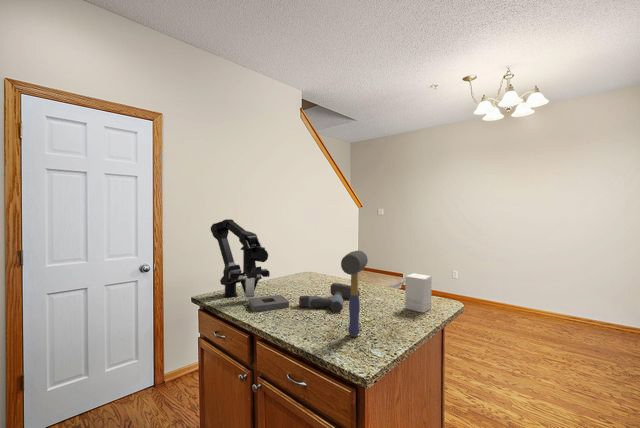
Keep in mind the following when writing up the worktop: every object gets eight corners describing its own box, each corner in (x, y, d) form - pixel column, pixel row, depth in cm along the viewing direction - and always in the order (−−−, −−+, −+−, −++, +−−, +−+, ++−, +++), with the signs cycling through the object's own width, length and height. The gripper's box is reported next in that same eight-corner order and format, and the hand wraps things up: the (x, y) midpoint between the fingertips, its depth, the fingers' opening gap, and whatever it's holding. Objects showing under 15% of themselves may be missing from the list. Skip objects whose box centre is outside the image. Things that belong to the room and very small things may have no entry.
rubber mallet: (348, 327, 111) (349, 248, 110) (368, 330, 108) (369, 250, 107) (338, 340, 99) (339, 253, 99) (359, 344, 96) (360, 254, 96)
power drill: (304, 298, 147) (343, 300, 145) (297, 311, 128) (342, 313, 126) (304, 288, 147) (343, 289, 145) (297, 299, 128) (342, 301, 126)
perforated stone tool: (360, 298, 147) (361, 284, 147) (358, 301, 142) (358, 287, 142) (333, 294, 153) (333, 281, 153) (329, 297, 148) (329, 283, 148)
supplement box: (431, 308, 133) (432, 275, 133) (423, 313, 126) (424, 279, 126) (413, 303, 139) (413, 272, 139) (404, 308, 132) (404, 275, 132)
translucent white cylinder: (244, 295, 141) (244, 277, 141) (252, 294, 143) (252, 276, 143) (245, 297, 138) (245, 278, 138) (254, 296, 139) (254, 278, 139)
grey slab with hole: (248, 303, 136) (248, 298, 136) (281, 299, 143) (281, 294, 143) (253, 312, 125) (253, 306, 125) (289, 307, 132) (289, 301, 132)
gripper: (231, 264, 129) (231, 299, 129) (272, 261, 137) (272, 294, 137) (228, 259, 139) (228, 292, 139) (266, 257, 147) (266, 288, 147)
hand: (249, 291), depth 140 cm, fingers closed on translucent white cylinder, 4 cm apart
